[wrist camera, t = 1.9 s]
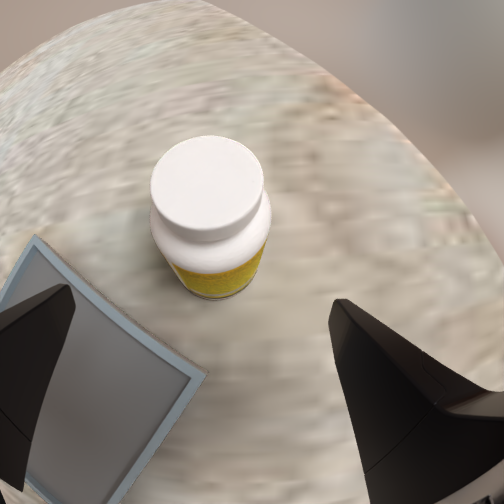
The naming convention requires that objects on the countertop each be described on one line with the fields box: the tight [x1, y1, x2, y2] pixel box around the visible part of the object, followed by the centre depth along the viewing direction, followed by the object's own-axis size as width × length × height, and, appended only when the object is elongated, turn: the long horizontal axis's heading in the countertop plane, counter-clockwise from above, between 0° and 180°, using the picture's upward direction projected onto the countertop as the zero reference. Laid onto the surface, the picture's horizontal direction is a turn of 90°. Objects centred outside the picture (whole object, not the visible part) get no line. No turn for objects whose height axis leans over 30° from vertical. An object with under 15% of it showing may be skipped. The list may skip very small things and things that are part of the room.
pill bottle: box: [150, 136, 271, 300], centre depth 16 cm, size 6×6×11 cm
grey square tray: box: [0, 234, 209, 504], centre depth 14 cm, size 18×16×4 cm
